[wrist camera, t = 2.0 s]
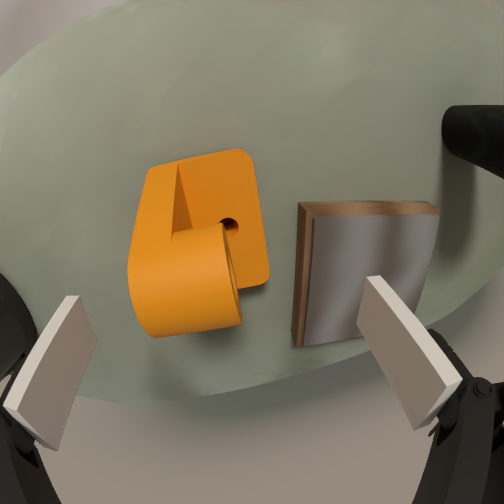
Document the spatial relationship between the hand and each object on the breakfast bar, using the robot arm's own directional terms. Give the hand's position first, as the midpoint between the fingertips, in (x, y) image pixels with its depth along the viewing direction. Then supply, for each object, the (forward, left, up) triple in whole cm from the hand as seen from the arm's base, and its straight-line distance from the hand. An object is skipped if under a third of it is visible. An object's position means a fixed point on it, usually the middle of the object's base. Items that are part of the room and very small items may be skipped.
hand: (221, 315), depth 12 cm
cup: (+25, +9, -13) cm, 29 cm away
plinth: (+14, -6, -12) cm, 19 cm away
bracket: (0, 0, -13) cm, 13 cm away
